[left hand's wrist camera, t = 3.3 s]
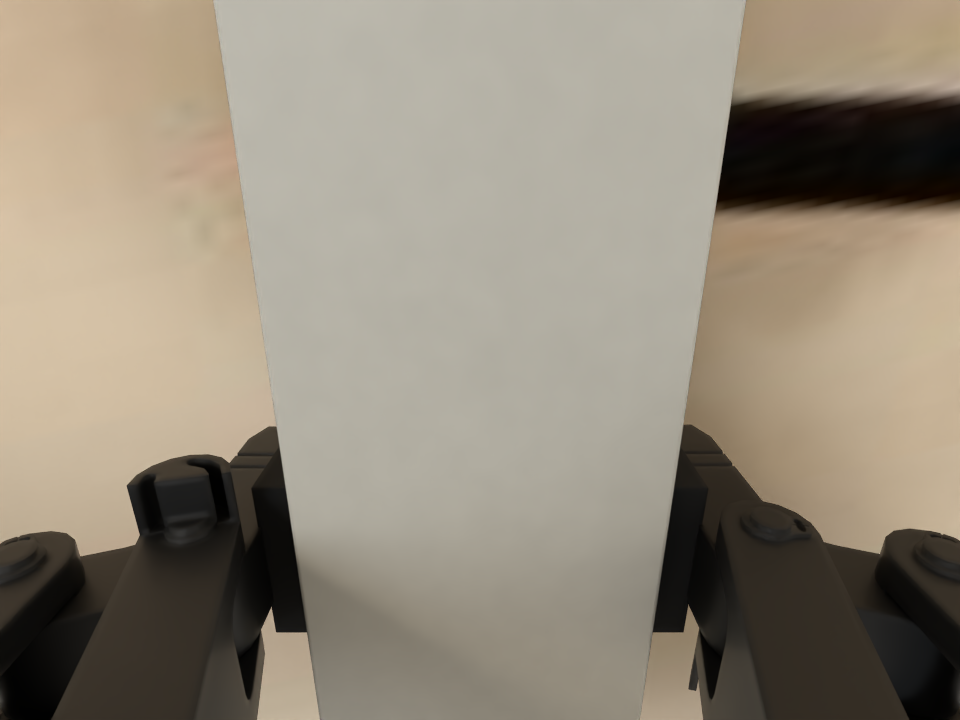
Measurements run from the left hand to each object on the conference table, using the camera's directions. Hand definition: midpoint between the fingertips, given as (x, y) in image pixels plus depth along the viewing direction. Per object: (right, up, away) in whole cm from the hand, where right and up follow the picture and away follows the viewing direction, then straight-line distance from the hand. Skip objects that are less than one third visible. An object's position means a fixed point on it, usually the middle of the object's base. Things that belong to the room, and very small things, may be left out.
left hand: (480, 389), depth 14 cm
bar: (0, +24, -8) cm, 25 cm away
